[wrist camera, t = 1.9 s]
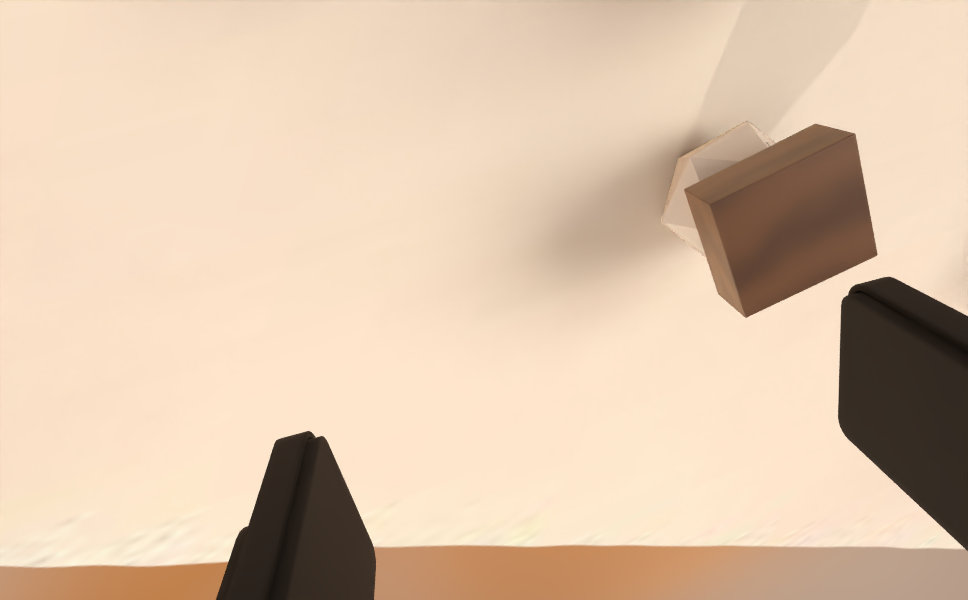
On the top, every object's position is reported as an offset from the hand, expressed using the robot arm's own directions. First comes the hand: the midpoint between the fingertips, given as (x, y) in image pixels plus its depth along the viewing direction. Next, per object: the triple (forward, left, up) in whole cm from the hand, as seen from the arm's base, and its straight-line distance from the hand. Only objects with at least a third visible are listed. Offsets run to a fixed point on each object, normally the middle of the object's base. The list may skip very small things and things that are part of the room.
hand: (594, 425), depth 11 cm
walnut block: (+12, +15, -26) cm, 32 cm away
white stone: (+12, +15, -34) cm, 39 cm away
